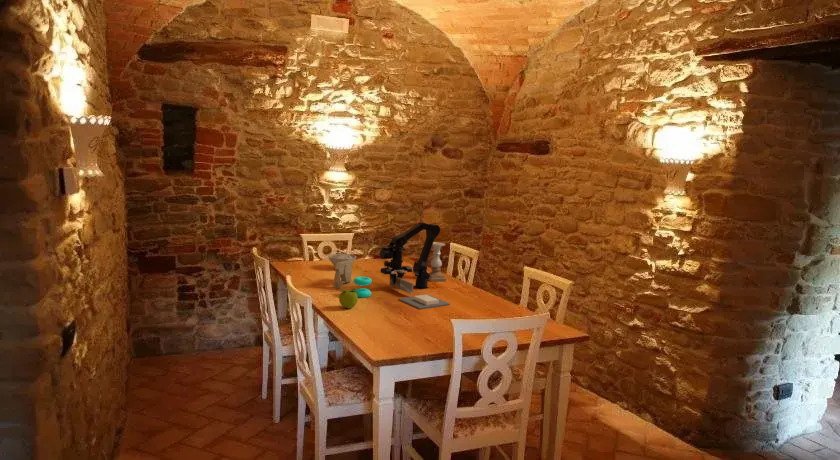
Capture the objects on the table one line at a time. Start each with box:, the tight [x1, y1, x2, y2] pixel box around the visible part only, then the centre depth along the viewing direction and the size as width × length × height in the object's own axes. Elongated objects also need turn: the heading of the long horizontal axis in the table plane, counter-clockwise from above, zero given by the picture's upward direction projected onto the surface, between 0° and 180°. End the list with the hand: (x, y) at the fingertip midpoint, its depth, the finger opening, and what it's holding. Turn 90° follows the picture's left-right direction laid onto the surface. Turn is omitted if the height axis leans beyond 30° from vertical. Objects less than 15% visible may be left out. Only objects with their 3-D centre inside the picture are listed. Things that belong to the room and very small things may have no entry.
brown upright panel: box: [389, 275, 414, 295], centre depth 305 cm, size 2×22×6 cm, turn 35°
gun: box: [333, 260, 354, 290], centre depth 316 cm, size 24×3×15 cm, turn 168°
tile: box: [413, 294, 439, 305], centre depth 285 cm, size 8×2×12 cm
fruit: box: [338, 288, 359, 309], centre depth 269 cm, size 9×9×10 cm
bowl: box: [327, 253, 357, 267], centre depth 359 cm, size 19×19×10 cm
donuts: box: [353, 276, 373, 298], centre depth 293 cm, size 10×10×10 cm
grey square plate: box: [398, 294, 451, 310], centre depth 287 cm, size 20×20×1 cm
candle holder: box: [427, 241, 447, 283], centre depth 342 cm, size 11×11×24 cm
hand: (395, 284), depth 310 cm, fingers closed on brown upright panel, 2 cm apart
